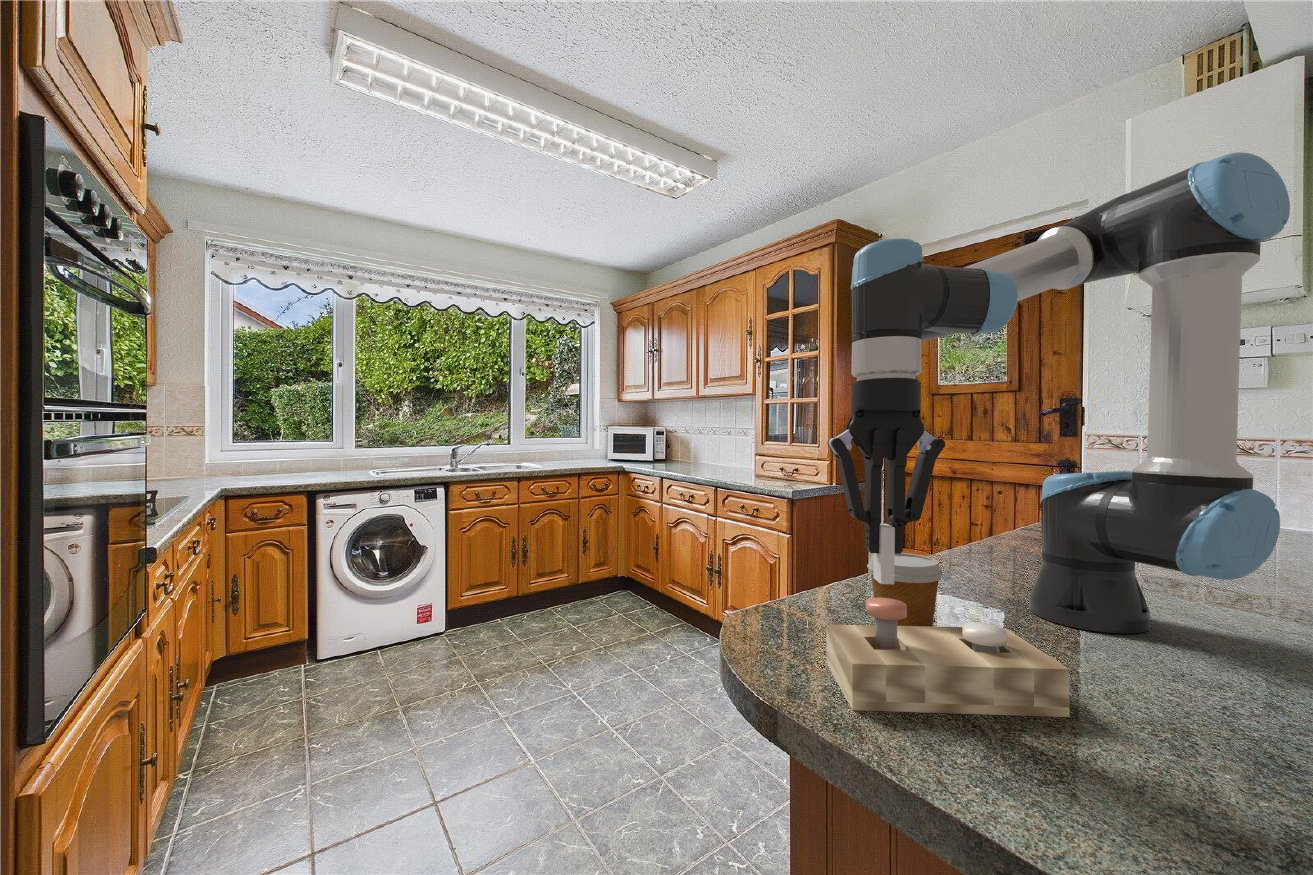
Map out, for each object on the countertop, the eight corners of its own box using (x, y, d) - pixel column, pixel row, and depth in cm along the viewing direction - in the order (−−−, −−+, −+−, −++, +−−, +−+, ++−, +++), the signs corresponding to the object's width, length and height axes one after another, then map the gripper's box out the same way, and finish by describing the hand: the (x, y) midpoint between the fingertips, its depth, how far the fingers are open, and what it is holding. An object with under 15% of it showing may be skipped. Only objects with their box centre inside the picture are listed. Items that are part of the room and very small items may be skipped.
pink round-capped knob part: (898, 638, 66) (898, 597, 66) (912, 653, 62) (912, 609, 62) (861, 637, 67) (861, 597, 66) (872, 652, 62) (872, 609, 62)
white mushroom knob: (993, 663, 65) (993, 622, 65) (1015, 680, 61) (1015, 636, 61) (955, 662, 66) (955, 621, 66) (974, 679, 61) (973, 635, 61)
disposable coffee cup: (952, 661, 71) (952, 569, 71) (874, 656, 73) (874, 566, 73) (931, 635, 80) (930, 553, 80) (862, 630, 82) (862, 550, 82)
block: (1005, 667, 69) (1005, 627, 69) (1069, 717, 57) (1069, 669, 57) (826, 663, 71) (826, 624, 71) (852, 710, 59) (852, 663, 59)
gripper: (929, 381, 67) (927, 574, 67) (821, 381, 68) (819, 571, 68) (958, 375, 60) (956, 591, 60) (836, 375, 61) (834, 588, 61)
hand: (883, 580), depth 64 cm, fingers closed
